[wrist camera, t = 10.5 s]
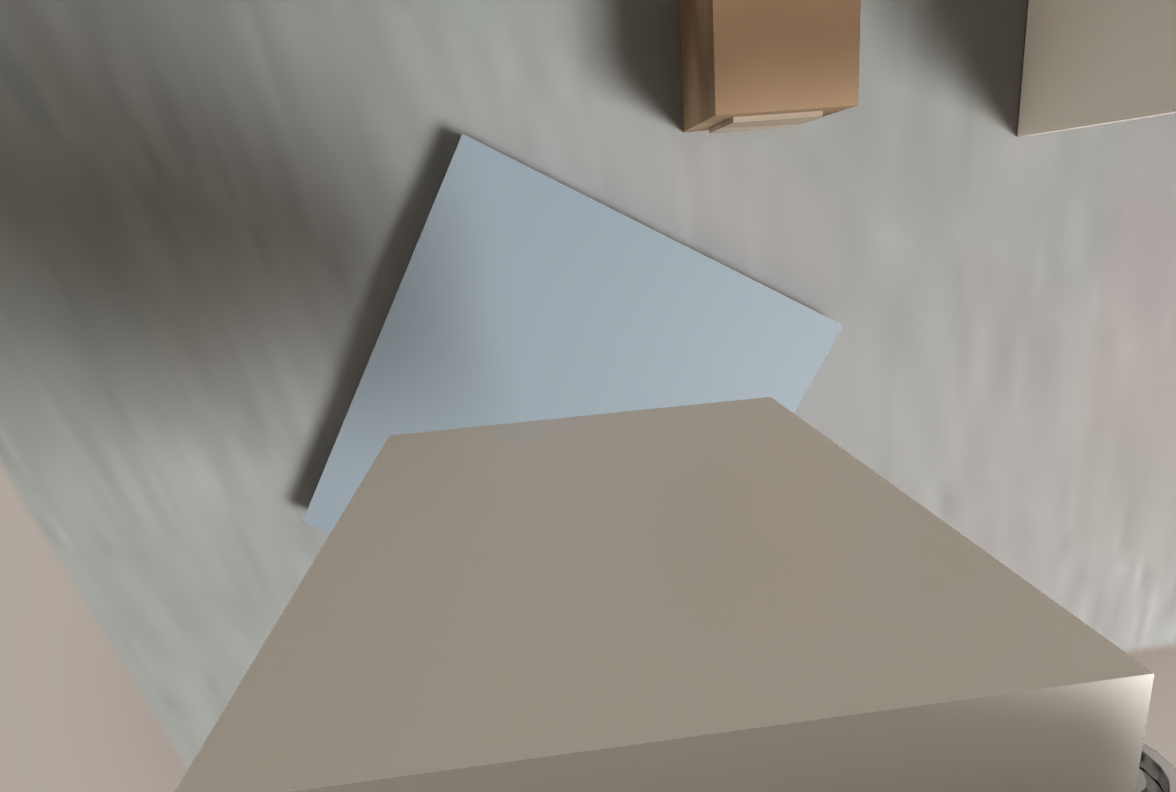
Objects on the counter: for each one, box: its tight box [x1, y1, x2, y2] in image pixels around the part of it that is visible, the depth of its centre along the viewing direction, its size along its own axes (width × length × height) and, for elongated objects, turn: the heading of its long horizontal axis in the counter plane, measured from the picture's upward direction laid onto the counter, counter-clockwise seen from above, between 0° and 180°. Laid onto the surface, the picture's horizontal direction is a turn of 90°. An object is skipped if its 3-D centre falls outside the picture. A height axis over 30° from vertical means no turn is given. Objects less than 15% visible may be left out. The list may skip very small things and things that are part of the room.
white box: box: [175, 397, 1154, 792], centre depth 10 cm, size 7×7×8 cm
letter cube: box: [678, 0, 861, 133], centre depth 20 cm, size 4×4×4 cm
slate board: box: [303, 134, 843, 533], centre depth 24 cm, size 14×14×1 cm
